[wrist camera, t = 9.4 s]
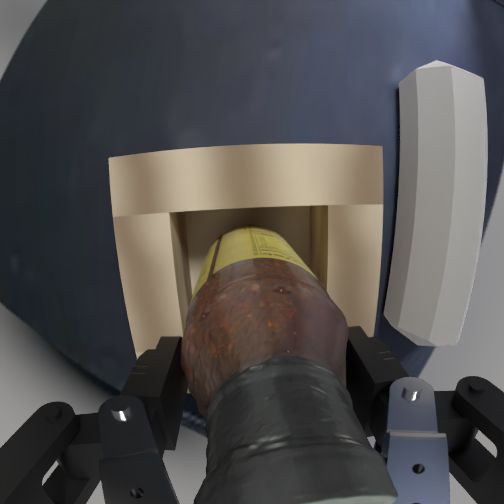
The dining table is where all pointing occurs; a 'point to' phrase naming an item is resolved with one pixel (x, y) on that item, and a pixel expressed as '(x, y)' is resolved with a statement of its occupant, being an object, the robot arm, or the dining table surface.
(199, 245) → the socket block
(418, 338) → the crystal
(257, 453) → the sauce bottle
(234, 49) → the dining table surface
